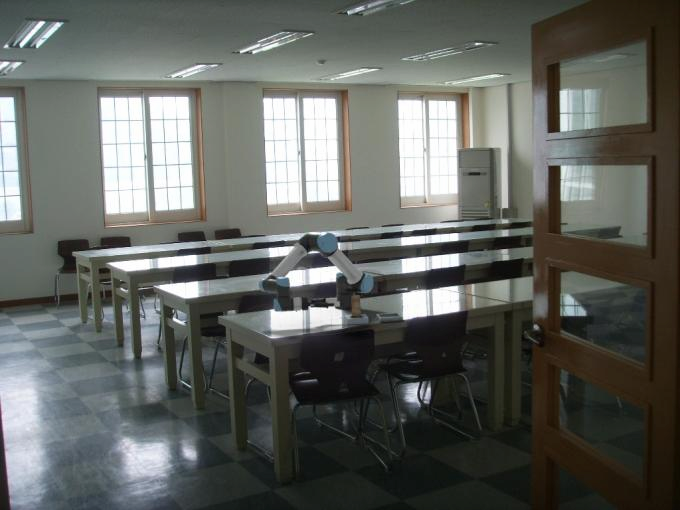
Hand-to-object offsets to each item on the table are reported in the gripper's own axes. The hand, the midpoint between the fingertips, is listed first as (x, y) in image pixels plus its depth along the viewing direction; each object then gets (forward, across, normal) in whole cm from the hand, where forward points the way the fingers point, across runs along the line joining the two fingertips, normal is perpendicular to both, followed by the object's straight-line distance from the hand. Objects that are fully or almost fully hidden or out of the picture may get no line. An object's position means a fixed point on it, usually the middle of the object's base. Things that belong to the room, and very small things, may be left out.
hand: (338, 302), depth 427 cm
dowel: (+10, 0, -12) cm, 16 cm away
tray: (+29, 0, -12) cm, 31 cm away
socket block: (+10, 0, -12) cm, 16 cm away
